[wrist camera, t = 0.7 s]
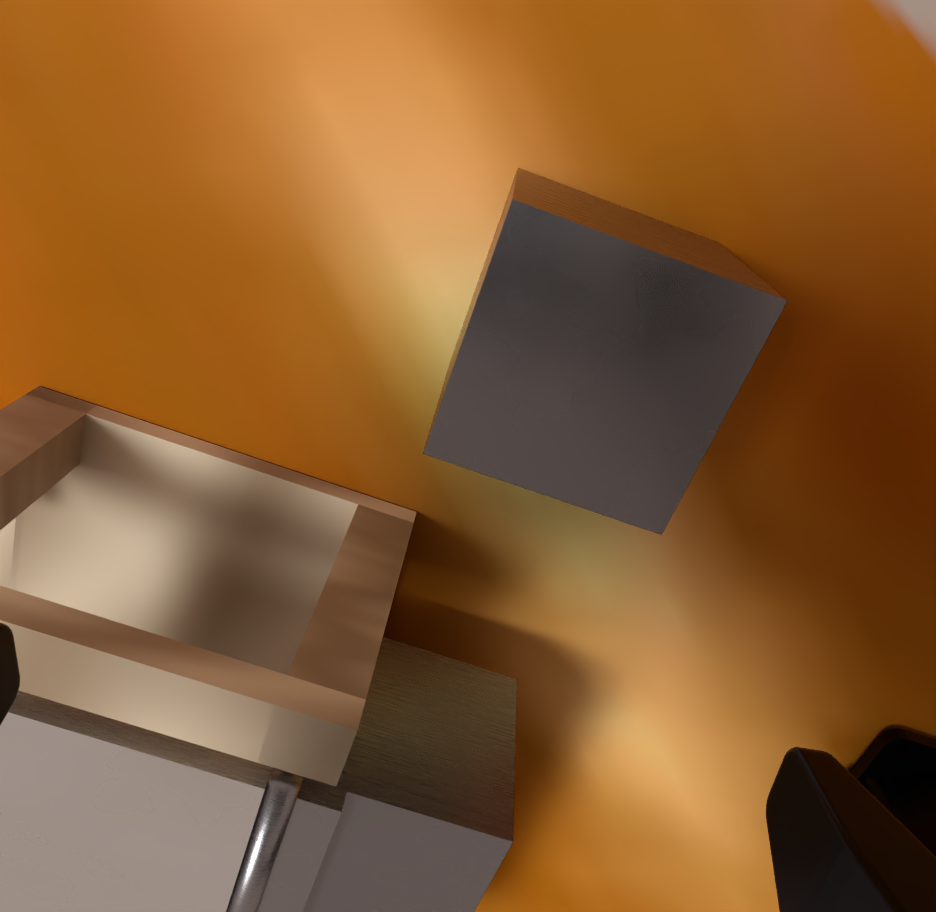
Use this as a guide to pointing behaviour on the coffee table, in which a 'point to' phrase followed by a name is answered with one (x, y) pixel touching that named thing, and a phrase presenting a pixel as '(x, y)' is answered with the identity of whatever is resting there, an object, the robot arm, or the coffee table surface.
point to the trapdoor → (265, 807)
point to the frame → (191, 584)
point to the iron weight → (598, 354)
